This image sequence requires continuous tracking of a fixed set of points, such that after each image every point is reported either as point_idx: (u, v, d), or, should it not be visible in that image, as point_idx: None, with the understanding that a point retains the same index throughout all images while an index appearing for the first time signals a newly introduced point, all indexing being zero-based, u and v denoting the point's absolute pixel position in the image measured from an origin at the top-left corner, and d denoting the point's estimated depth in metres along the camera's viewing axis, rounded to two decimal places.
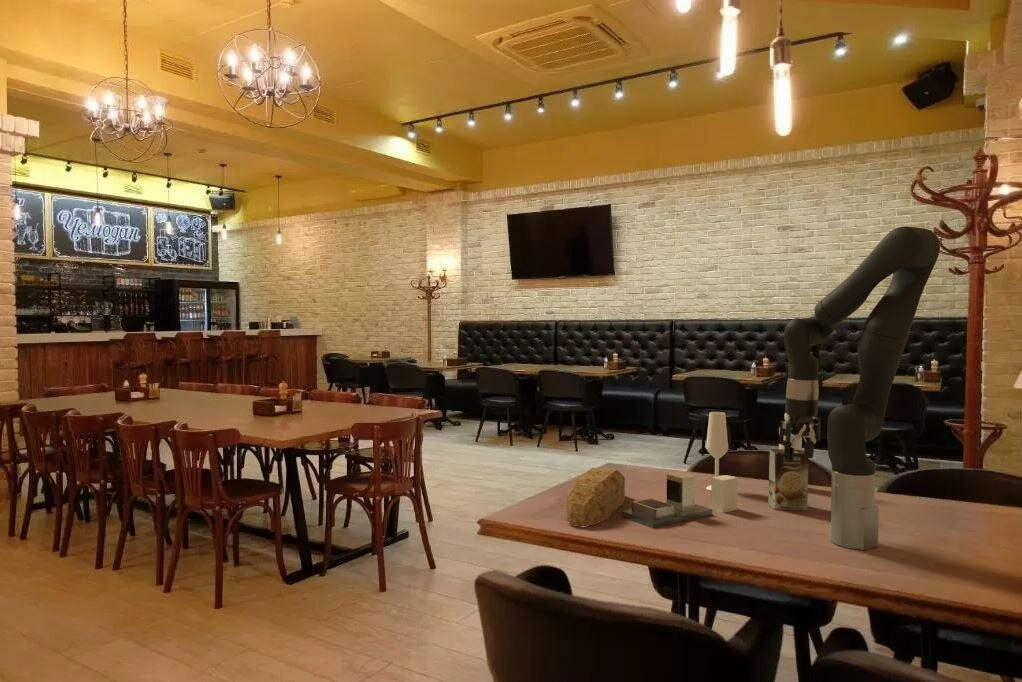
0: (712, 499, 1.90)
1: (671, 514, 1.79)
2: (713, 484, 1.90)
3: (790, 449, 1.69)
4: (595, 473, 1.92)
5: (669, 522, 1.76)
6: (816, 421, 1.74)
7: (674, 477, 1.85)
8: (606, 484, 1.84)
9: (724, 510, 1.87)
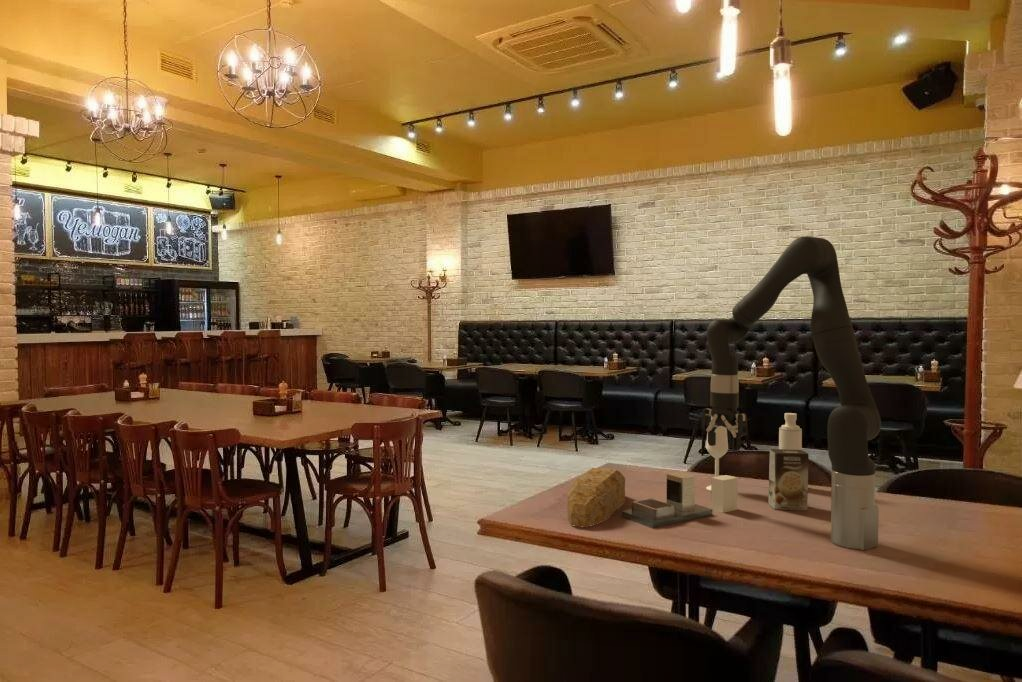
0: (712, 499, 1.90)
1: (671, 514, 1.79)
2: (713, 484, 1.90)
3: None
4: (596, 473, 1.92)
5: (669, 522, 1.76)
6: None
7: (674, 477, 1.85)
8: (607, 484, 1.84)
9: (724, 510, 1.87)
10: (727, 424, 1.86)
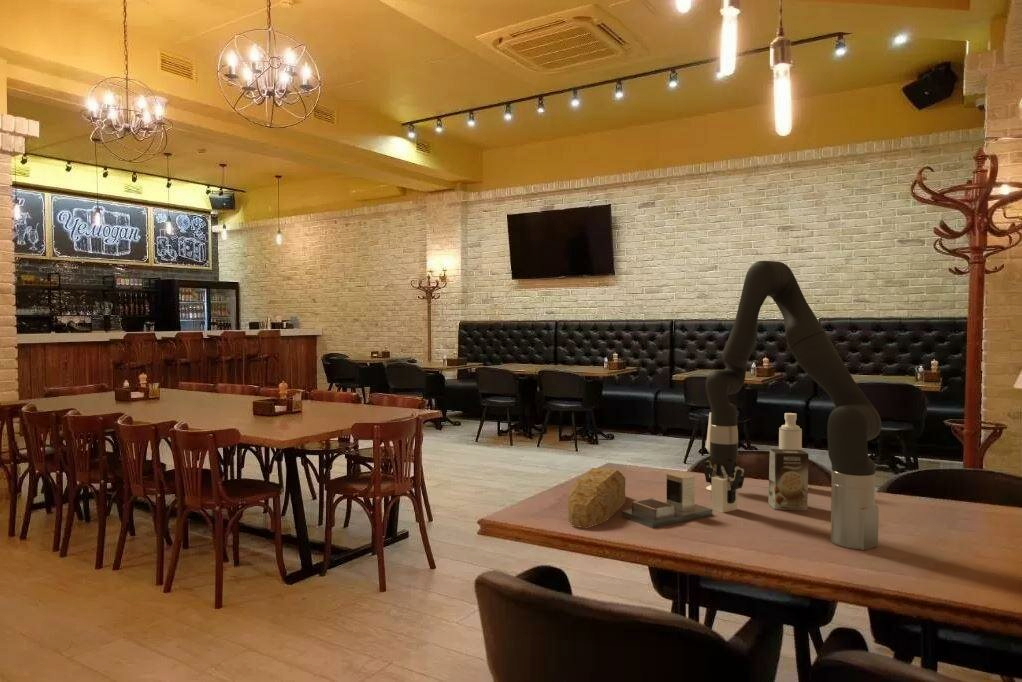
0: (712, 499, 1.90)
1: (671, 514, 1.79)
2: (713, 484, 1.90)
3: None
4: (596, 473, 1.92)
5: (669, 522, 1.76)
6: None
7: (674, 477, 1.85)
8: (607, 484, 1.84)
9: (724, 510, 1.87)
10: (725, 476, 1.88)
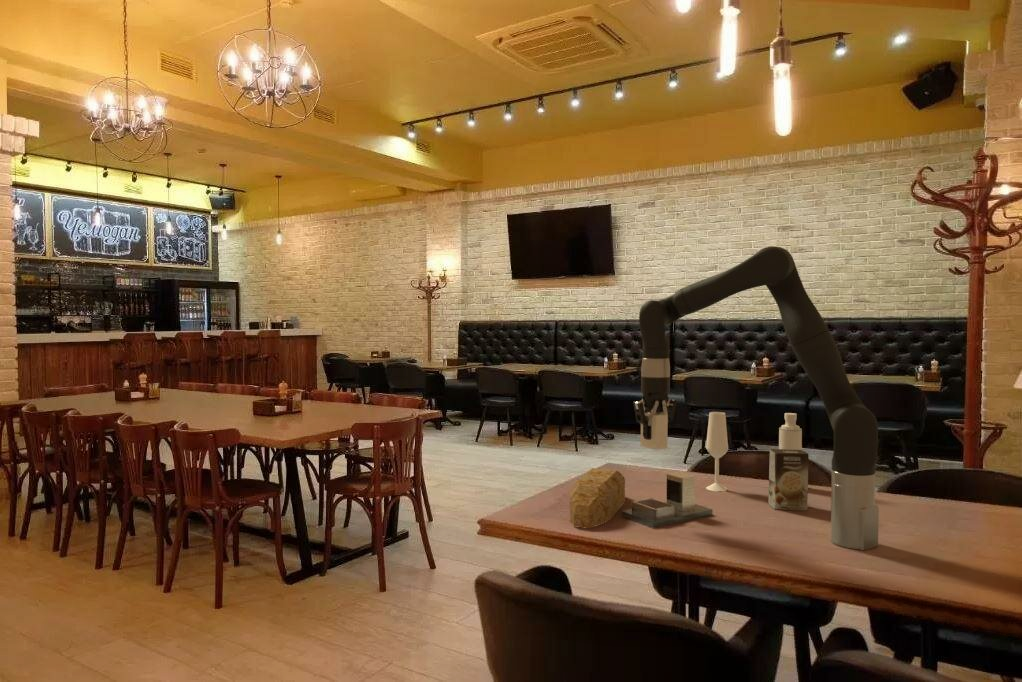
0: None
1: (671, 514, 1.79)
2: None
3: (647, 427, 1.79)
4: (596, 474, 1.92)
5: (669, 522, 1.76)
6: (672, 402, 1.83)
7: (674, 477, 1.85)
8: (608, 485, 1.83)
9: (643, 444, 1.82)
10: None
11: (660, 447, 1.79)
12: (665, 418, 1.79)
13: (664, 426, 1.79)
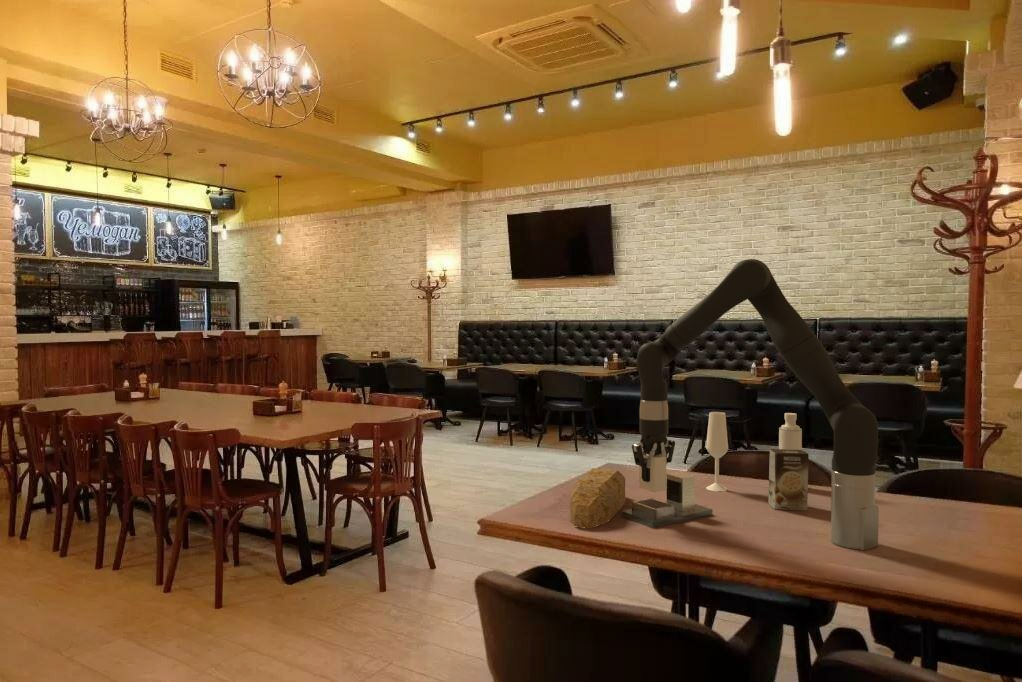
0: None
1: (671, 514, 1.79)
2: None
3: (646, 469, 1.79)
4: (597, 474, 1.91)
5: (669, 522, 1.76)
6: (670, 443, 1.83)
7: (674, 477, 1.85)
8: (609, 485, 1.83)
9: (641, 486, 1.82)
10: None
11: (659, 489, 1.78)
12: (663, 460, 1.79)
13: (663, 468, 1.79)
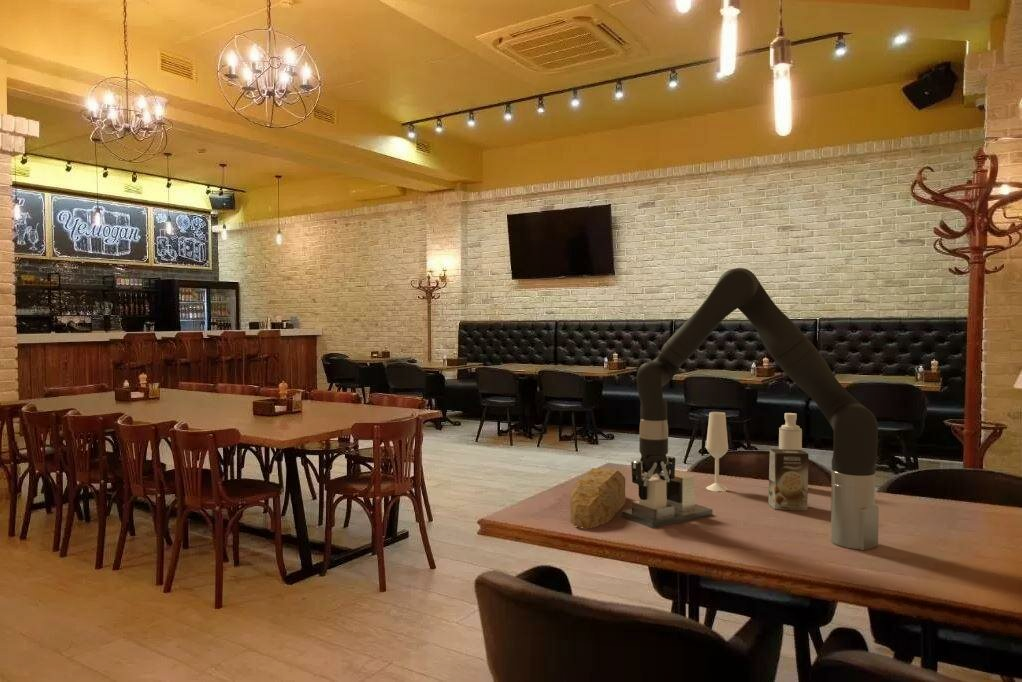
0: None
1: (671, 514, 1.79)
2: None
3: (643, 487, 1.79)
4: (597, 474, 1.91)
5: (669, 522, 1.76)
6: (671, 460, 1.83)
7: (674, 477, 1.85)
8: (609, 485, 1.83)
9: None
10: None
11: None
12: (663, 484, 1.79)
13: (663, 492, 1.79)
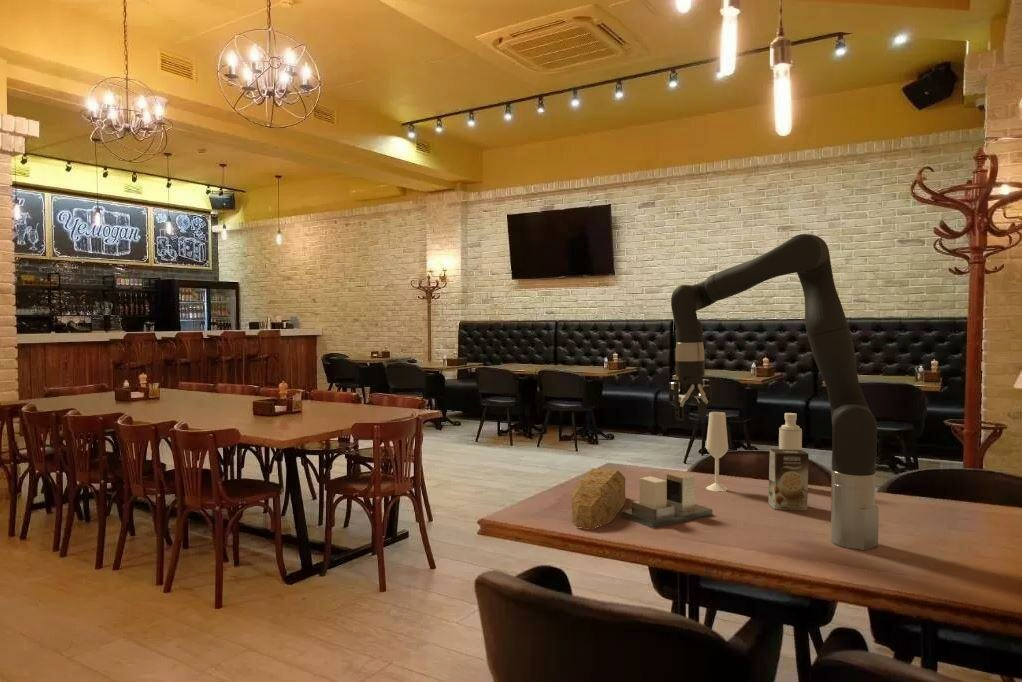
0: None
1: (671, 514, 1.79)
2: None
3: (680, 408, 1.80)
4: (597, 474, 1.91)
5: (669, 522, 1.76)
6: (707, 382, 1.85)
7: (674, 477, 1.85)
8: (610, 485, 1.83)
9: None
10: None
11: None
12: (663, 484, 1.79)
13: (663, 492, 1.79)
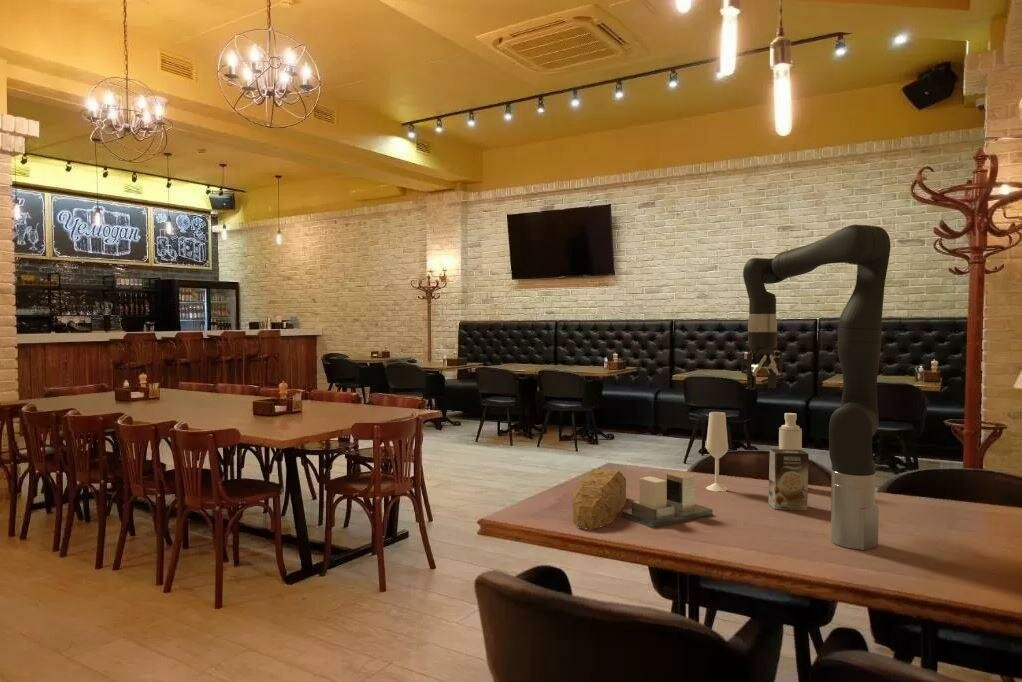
0: None
1: (671, 514, 1.79)
2: None
3: (752, 377, 1.85)
4: (598, 474, 1.91)
5: (669, 522, 1.76)
6: (777, 354, 1.90)
7: (674, 477, 1.85)
8: (611, 485, 1.83)
9: None
10: None
11: None
12: (663, 484, 1.79)
13: (663, 492, 1.79)
